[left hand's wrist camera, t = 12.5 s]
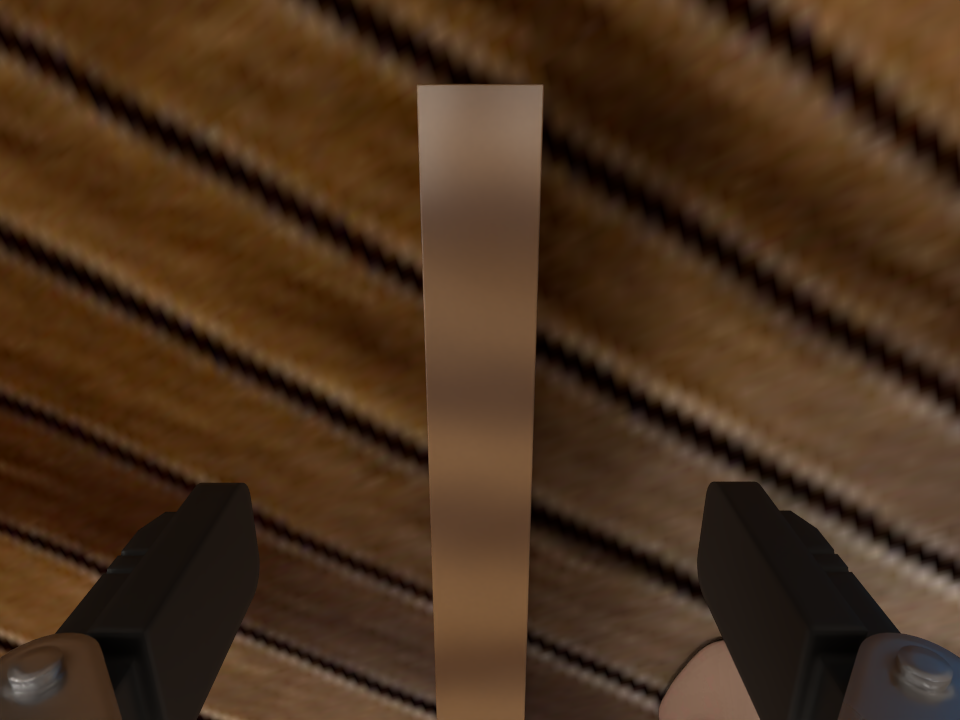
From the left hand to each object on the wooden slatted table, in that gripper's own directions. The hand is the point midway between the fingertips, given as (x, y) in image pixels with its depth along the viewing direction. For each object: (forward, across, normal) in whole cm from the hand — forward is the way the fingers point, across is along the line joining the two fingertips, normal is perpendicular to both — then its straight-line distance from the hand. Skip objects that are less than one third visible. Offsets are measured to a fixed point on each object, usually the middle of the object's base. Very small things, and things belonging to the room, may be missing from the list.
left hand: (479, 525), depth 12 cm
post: (+22, 0, -19) cm, 30 cm away
